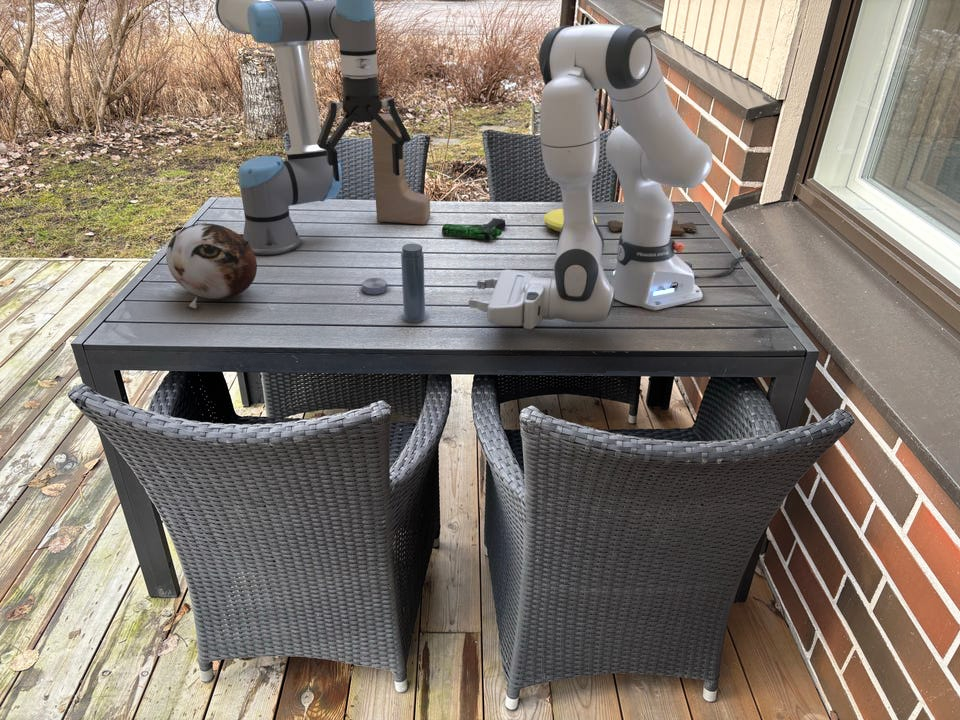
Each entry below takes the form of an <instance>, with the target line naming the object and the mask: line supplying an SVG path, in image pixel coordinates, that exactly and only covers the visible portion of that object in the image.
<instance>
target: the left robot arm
mask: <svg viewBox="0 0 960 720" xmlns="http://www.w3.org/2000/svg"><path fill="white" fill-rule="evenodd" d="M214 8H215V9H214V10H215V15H216V17H217V20H218V21H219V23H220V24H221V25H222V27H224V28H225V29H226V30H228V31H229V32H232V33H234V34H239V35H240V34H241V35H251V37H252V39H253V41H255V43H258V44H267V45H268V46H269V47H271V48H272V50H273V54H274V59H275V65H276V69H277V76H278V81H279V86H280V92H281V98H282V103H283V109H284V114H285V120H286V125H287V131H288V137H289V142H290V147H289V149H288V150H287V152H286V157H287V160H283V158H282V157H281V156H279V155H262V156H258V157H253V158H250V159H248V160H245V161H244V162H243V163H241V165H240V166H239V167H238V170H237V174H238V186H239V190H240V196H241V201H242V208H243V212H244V213H243V215H244V219H245V220H244V226H243V228H244V229H243V233H242V234H239V235H240V236H241V237H243V238H244V239H245V240H246V241H249V242H248V244H249V245H250V247H251V248H252V250H253V252H254V254H255V256H256V255H257V256H275V255H281V254H282V255H283V254H285V253H289V252H291V251H293V250H296V249H297V248H298V247H299V246H300V244H301V241H300V235H299V233H298V231H297V229H296V225H295V224H294V223H293V220H292V218H291V216H290V206H296V205H303V204H309V203H315V202H324V201H326V200H333V199H334V198H336V197H337V196H339V194H340V192H341V189H342V183H343V182H342V181H343V171H342V165H341V163H340V160H339V157H338V151H337V150H336V148H335V147H336V146H337V145H338V143H339V142H340V140H341V139H342V137H343V136H344V135H345V134H346V132H347V130H349V128H350V127H351V126H352V124H353V123H356V124H361V123H371V121H373V120H374V119H375V120H376V121H377V122H378V123H379V124H380V126H381V127H382V128H383V129H384V130H385V131H386V132H387V133H388V134H389V135H390V137H391V138H392V139H393V140H394V141H395V142H396V144H395V143H392V159H393V173H394V174H395V175H396V176H398V175H400V173H399V159H402V158H403V151H404V145H405V143H407V142H410V141H411V140H412V138H411V136H410V133H408V130H407V128H406V126H405V125H404V122H403V120H402V121H401V119H400V117H399V115H400V114H399V112H398V111H397V109H396V102H395V99H393V98H392V97H390V96H387V97H386V98H385V99H381V98H380V83H379V77H378V76H377V75H378V72H379V67H378V65H379V64H378V50H377V30H376V28H377V27H376V26H377V25H376V15H377V14H376V10H375V2H374V0H215V6H214ZM333 40H335V41H338V44H339V57H340V70H341V71H340V72H341V74H342V75H343V77H342V78H341V82H342V83H341V85H342V94H343V95H342V96H343V98H342V102H339V101H334V100H329V101H328V111H327V114H326V117H325V120H324V122H323V124H322V125H323V126H321V120H320V115H319V107H318V101H317V96H316V91H315V83H314V77H313V72H312V67H311V65H312V64H311V60H310V59H311V58H310V55H309V54H310V53H309V48H308V46H309V44H310V43H311V42H315V41H333ZM382 107H383V108H384V109H385V110H386V111H388V114H390V115H391V117H392V119H393V120H394V122H395V124H396V126H397V128H398V130H399V132H400V134H401V135H402V136H400V137H399V136H398V135H397V134H396V133H395V132H394V131H393V130H392V129H391V128H390V126H389V125H388V124H387V123H386V122H385V121H384V120H383V119H382V117H381V116H380V115H379V114H380V113H379V112H380V110H381V109H382ZM341 109H342V110H343V111H344V112H345V115H343V117H342V120H341V122H340V123H339V124H338V126H337V127H336V129H335V130H334V132H333V133H332V135H331V136H330V133H331V132H332V129H333V126H334V123H335V122H336V121H335V120H336V118H337V114H339V113H340V111H341ZM398 114H399V115H398ZM329 136H330V137H329ZM183 227H184V228H186V227H187V226H178V227H176V228H174V229H173V230H172V231H171V233H172V234H173V233H175V234H176V233H177V232H179V231H180V230H181V229H182V228H183ZM184 228H183V229H184Z"/></svg>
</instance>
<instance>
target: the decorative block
mask: <svg viewBox="0 0 960 720" xmlns="http://www.w3.org/2000/svg"><path fill="white" fill-rule="evenodd" d="M378 114H379V115H380V116H381V117H382V119H383V120H384V121H385V122H386V123H387V124H388V125H389V126H390V128H391V129H392V130H393V131H394V132H395V133H396V134H397V135H398V136H399V137H400V136H402V135H401V134H400V132H399V130H398V128H397V126H396V124H395V122H394V120H393V119H392V117H391V115H390V113H378ZM398 115H399V117H400V119H401V121H402V122H403V116H402V114H399V113H398ZM370 129H371V148H372V165H373V178H374V179H373V180H374V196H375V210H376V221H377V222H380V223H396V224H412V225H426V224H427V222H428V220H429V219H430V217H431V197H430V195H428V194H425V193H419V192H416V191H414V190H413V189H411V188H410V187H409V185H408V182H407V180H406V176H405V157H404V156H405V155H404V154H405V153H404V150H403V158H402V159H399V173H400V175H398V176H396V175H395V174H394V173H393V159H392V143H395V144H396V142H395V141H394V140H393V139H392V138H391V137H390V135H389V134H388V133H387V132H386V131H385V130H384V129H383V128H382V127H381V126H380V124H379V123H378V122H377V121H376V120H375V119H374V120H373V121H371V122H370Z"/></svg>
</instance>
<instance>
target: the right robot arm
mask: <svg viewBox="0 0 960 720" xmlns="http://www.w3.org/2000/svg"><path fill="white" fill-rule="evenodd" d="M538 64H539V70H540V73H541V76H542V80H543V83H544V85H545V86H544V87H543V90H542V93H541V100H540V111H539V112H540V113H539V133H540V134H539V135H540V136H539V137H540V139H539V140H540V149H541V156H542V162H543V165H544V169H545V172H546V175H547V177H548V178H549V179H550V180H551V181H552V182H554V183H555V184H558V186H559V188H560V191H561V192H560V193H561V202H562V209H563V215H564V224H563V227H562V229H561V232H559V234H558V237H557V242H556V244H557V245H556V251H555V255H554V261H553V275H554V278H550V277H538V276H535V275H533V274H532V273H531V272H528V271H522V270H515V269H503V270H501V271H500V273H499V275H498V277H495V276H493V277H489V278H478V280H477V282H476V288H477V289H479V290H485V289H487V288H489V289H490V288H493V291H492V295H491V297H490V300H488V299H487V300H486V299H485V300H481V299H479V297H473V296H472V297H470V298H469V300H468V307H469V308H470V309H476V310H479V311H482V312H483V313H487V314H486V315H487V316H486V319H487V320H486V321H487V322H489V323H491V324H493V325H499V326H506V327H507V326H508V327H520V326H523V328H524V329H527V330H532V329H534V328H535V327H537V325H539V323H540V322H542V321H543V320H547V321H549V320H550V321H551V320H557V319H558V320H564V321H566V322H572V323H598V322H599V323H600V322H603V321H605V320H606V319H608V317H609V316H610V313H611V311H612V308H613V304H614V300H615V301H618V302H620V303H623V304H626V305H631V306H636V307H640V308H641V307H642V308H644V309H646V310H650V311H659V310H663V309H667V308H671V307H677V306H680V305H686V304H689V303H694V302H697V301H702V300H703V292H702V289H701V288H700V287H699V286H698V285H697V284H696V283H695V279H716V278H720V277H724V276H726V275H729V274H731V273H732V272H733V271H734V268H735V264H736V263H738V262H739V261H742V260H744V259H746V258H748V257H752V256H754V255H753V254H752V253H753V252H750V253H747V254H744V255H742V256H743V257H741V256H739V257H737V258H735V259H734V260H733V261H732V262H731V265H730V269H728V270H726V271H723V272H720V273H717V274H714V275H709V276H697V275H695V273H694V271H693V264H692V263H690V262H688V261H685V260H683V259H682V258H680V257H679V256H678V255H677V254H676V253H678V254H681V253H683V251H684V250H685V245H684V244H683V243H681V242H680V241H677V242H676V240H674V239H673V238H671V235H672V234H671V229H672V222H673V220H674V215H675V210H674V209H675V208H674V205H673V203H672V201H671V200H670V199H669V197H668V196H667V195H666V194H665V191H664V190H663V187H662V185H664V186H668V187H671V188H680V189H694V188H697V187H699V186H700V185H701V184H702V183H704V182H705V180H706V179H707V177H708V176H709V174H710V172H711V171H712V167H713V153H712V149H711V147H710V145H709V144H707V142H705V141H704V140H702V139H701V138H700V137H698V136H697V135H696V134H695V133H694V132H693V131H692V129H690V128H689V126H688V125H687V123H685V121H684V120H683V118H682V117H681V116H680V114H679V113H678V112H677V109H676V108H675V106H674V104H673V102H672V100H671V98H670V95H669V92H668V88H667V86H666V82H665V78H664V74H663V72H662V68H661V65H660V62H659V60H658V56H657V54H656V52H655V49H654V47H653V44H652V42H651V40H650V38H649V36H648V35H647V33H646V32H645V30H643V29H642V28H639V27H637V26H634V25H630V24H623V25H618V24H611V23H592V24H580V25H579V24H578V25H569V24H567V25H563V26H558V27H555V28H552V29H551V30H549V31H548V32H547V33H546V34H545V36H544V37H543V40H542V42H541V44H540V47H539V52H538ZM598 90H606V93H607V95H608V99H609V102H610V104H611V108H612V110H613V113H614V115H615V119H616V122H617V123H618V125H617V126H616V127H615V128H614V129H613V130H612V131H611V132H610V134H609V135H608V137H607V140H606V144H605V157H606V160H607V162H608V163H609V164H610V165H611V167H612V168H613V170H614V172H615V174H616V176H617V178H618V181H619V184H620V188H621V192H622V198H623V217H622V223H623V228H622V231H621V234H620V236H619V238H618V239H619V240H618V245H617V254H616V255H617V257H616V259H617V262H616V264H615V265H616V266H615V269H614V271H613V274H612V275H613V276H612V279H611V281H609V279H608V278H607V276H606V273H605V270H604V267H603V264H602V259H603V258H602V257H603V253H604V252H603V251H604V247H605V240H604V236H603V233H602V231H601V230H600V228H599V226H598V224H596V222H595V220H594V216H595V214H594V201H593V199H594V198H593V181H594V178H595V176H596V174H597V173H598V168H599V162H600V153H601V150H600V149H601V131H600V120H599V119H600V118H599V112H598V105H597V101H596V100H597V96H598V92H599V91H598ZM675 252H676V253H675Z"/></svg>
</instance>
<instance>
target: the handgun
mask: <svg viewBox="0 0 960 720" xmlns="http://www.w3.org/2000/svg"><path fill="white" fill-rule="evenodd" d="M505 228H506V220H505V219H503V218H497V217H492V219H491V220H490V221H489V222H488V223H483V224H482V225H479V224H472V225H459V224H453V223H445V224H443V226H442V227H441V235H446V236H454V237H462V238H469V239H470V238H471V239H474V240H479V241H484V242H491V241H492V240H494V239H495V238H497V237H500V236H502V230H504V229H505Z"/></svg>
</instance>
